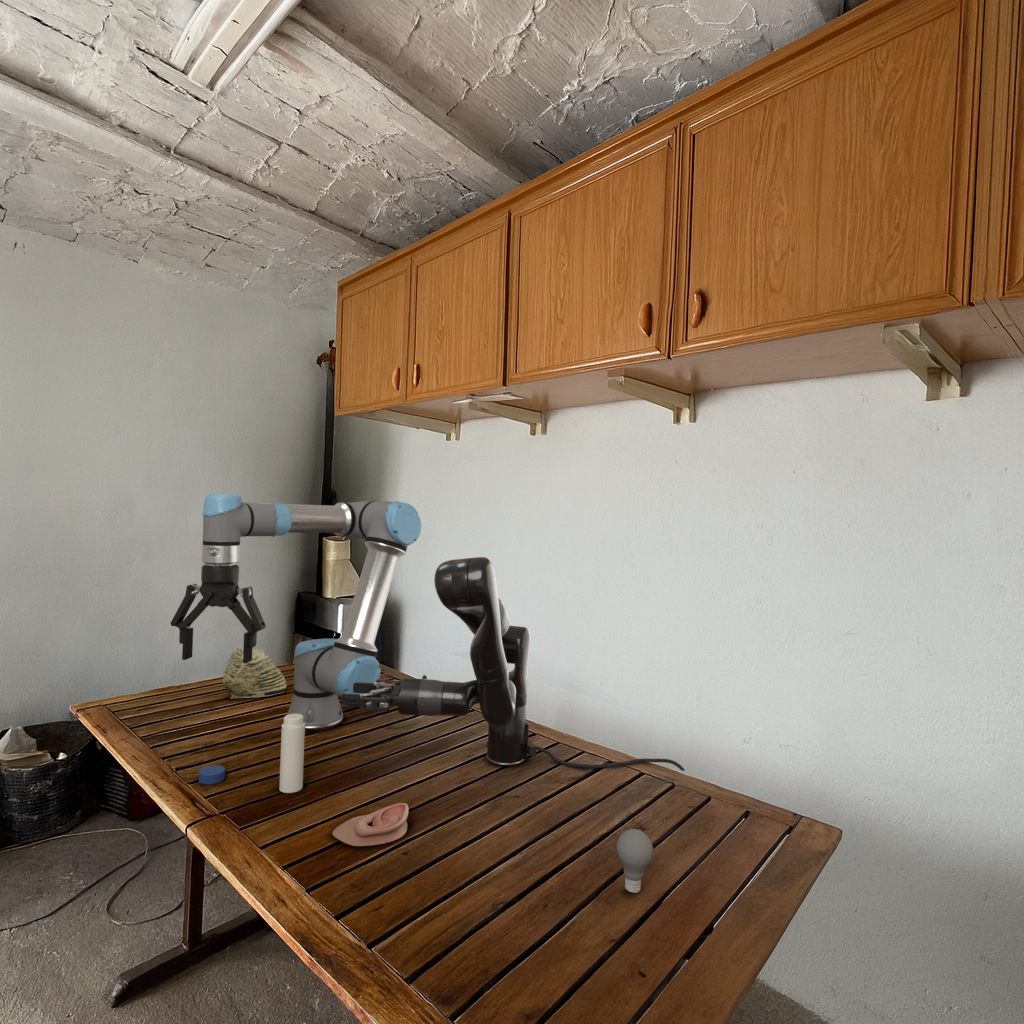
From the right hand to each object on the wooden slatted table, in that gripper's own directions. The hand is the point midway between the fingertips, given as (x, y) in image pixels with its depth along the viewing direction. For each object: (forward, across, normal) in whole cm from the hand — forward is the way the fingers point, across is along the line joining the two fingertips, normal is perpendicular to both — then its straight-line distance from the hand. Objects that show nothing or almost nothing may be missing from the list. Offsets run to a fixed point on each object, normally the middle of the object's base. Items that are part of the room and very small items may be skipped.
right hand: (347, 693), depth 136 cm
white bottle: (+12, 0, +21) cm, 24 cm away
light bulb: (-57, +29, +22) cm, 68 cm away
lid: (+30, -2, +20) cm, 36 cm away
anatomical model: (-10, +16, +22) cm, 28 cm away
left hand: (+30, -2, -5) cm, 30 cm away
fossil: (+46, -60, +21) cm, 79 cm away
